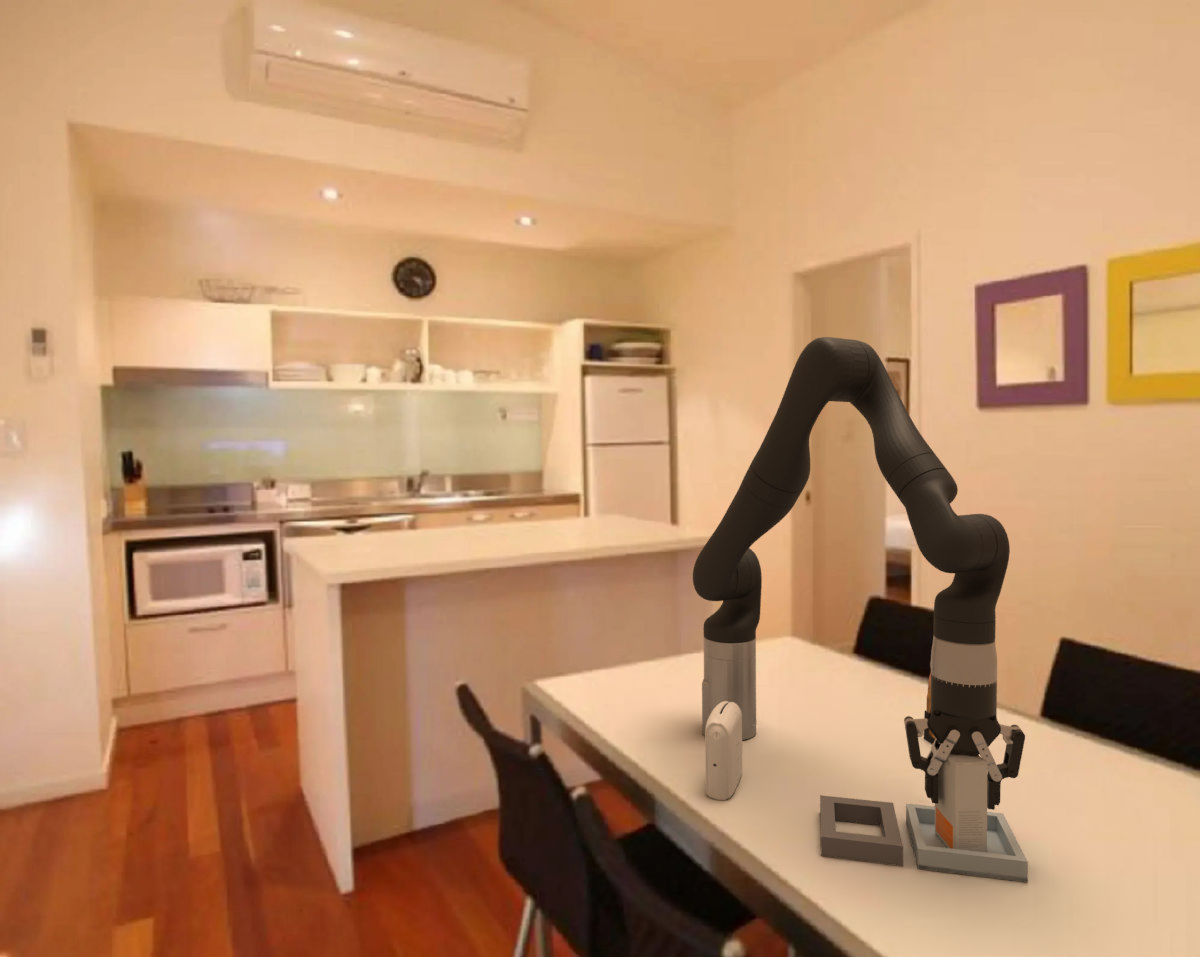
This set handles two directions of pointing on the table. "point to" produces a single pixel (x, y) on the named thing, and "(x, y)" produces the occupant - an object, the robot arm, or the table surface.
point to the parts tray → (936, 856)
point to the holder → (860, 845)
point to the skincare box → (962, 803)
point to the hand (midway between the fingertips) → (961, 803)
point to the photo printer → (723, 750)
